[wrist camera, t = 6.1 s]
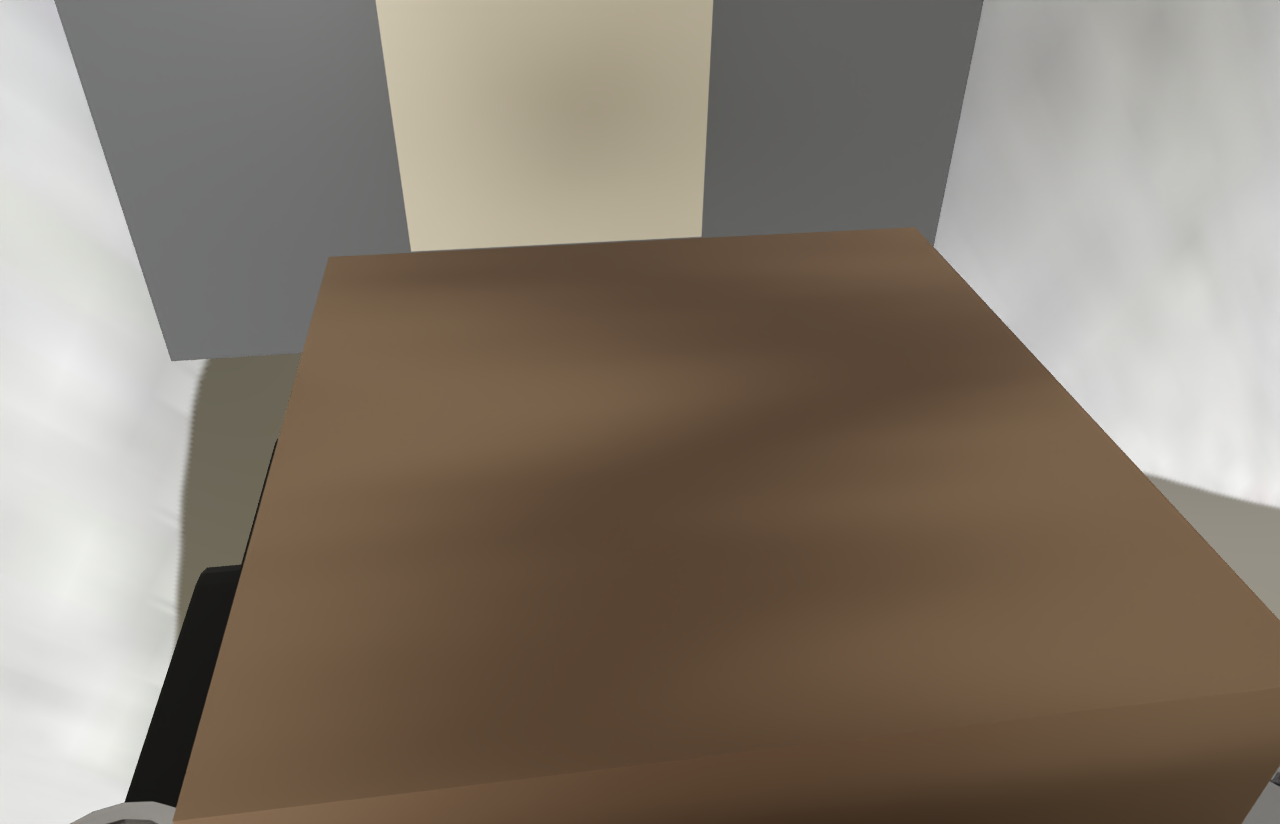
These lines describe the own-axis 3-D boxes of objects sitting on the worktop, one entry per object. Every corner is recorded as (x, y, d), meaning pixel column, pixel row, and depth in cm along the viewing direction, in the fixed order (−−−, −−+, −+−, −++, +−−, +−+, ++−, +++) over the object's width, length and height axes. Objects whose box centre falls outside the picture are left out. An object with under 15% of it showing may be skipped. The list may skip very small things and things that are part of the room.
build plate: (1001, -237, 22) (1032, -236, 21) (902, 291, 30) (920, 315, 29) (5, -246, 20) (-27, -245, 19) (184, 334, 28) (170, 362, 27)
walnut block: (914, 227, 10) (1334, 681, 5) (839, 621, 13) (1047, 1116, 9) (329, 257, 9) (170, 820, 4) (407, 666, 13) (368, 1238, 8)
